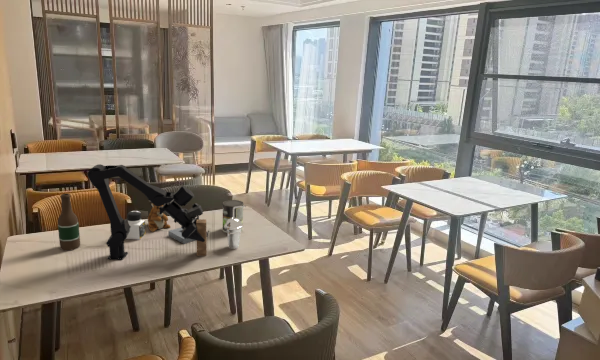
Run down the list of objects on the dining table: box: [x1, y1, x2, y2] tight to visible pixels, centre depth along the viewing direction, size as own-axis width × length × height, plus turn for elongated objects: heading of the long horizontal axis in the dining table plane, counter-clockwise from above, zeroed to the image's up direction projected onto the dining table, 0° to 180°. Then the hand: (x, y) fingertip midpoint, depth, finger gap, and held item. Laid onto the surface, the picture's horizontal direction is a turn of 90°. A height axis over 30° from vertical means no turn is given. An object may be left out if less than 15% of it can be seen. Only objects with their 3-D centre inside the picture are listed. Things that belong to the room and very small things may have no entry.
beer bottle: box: [57, 193, 81, 251], centre depth 181 cm, size 8×8×24 cm
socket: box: [168, 227, 209, 245], centre depth 201 cm, size 13×13×2 cm
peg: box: [196, 218, 208, 257], centre depth 182 cm, size 4×4×15 cm
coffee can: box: [221, 199, 245, 234], centre depth 210 cm, size 10×10×14 cm
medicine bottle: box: [125, 210, 146, 241], centre depth 197 cm, size 7×7×12 cm
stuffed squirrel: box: [147, 202, 171, 233], centre depth 210 cm, size 10×14×13 cm
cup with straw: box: [224, 205, 246, 250], centre depth 189 cm, size 8×9×20 cm
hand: (204, 237), depth 182 cm, fingers open, 9 cm apart
